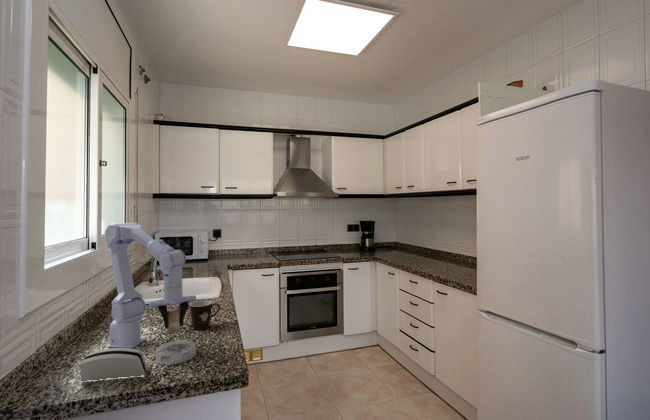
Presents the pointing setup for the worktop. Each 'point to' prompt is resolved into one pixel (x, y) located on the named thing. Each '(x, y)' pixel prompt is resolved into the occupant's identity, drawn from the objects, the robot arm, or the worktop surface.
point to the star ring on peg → (175, 352)
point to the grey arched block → (113, 364)
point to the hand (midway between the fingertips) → (173, 326)
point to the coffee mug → (201, 314)
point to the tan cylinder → (173, 321)
